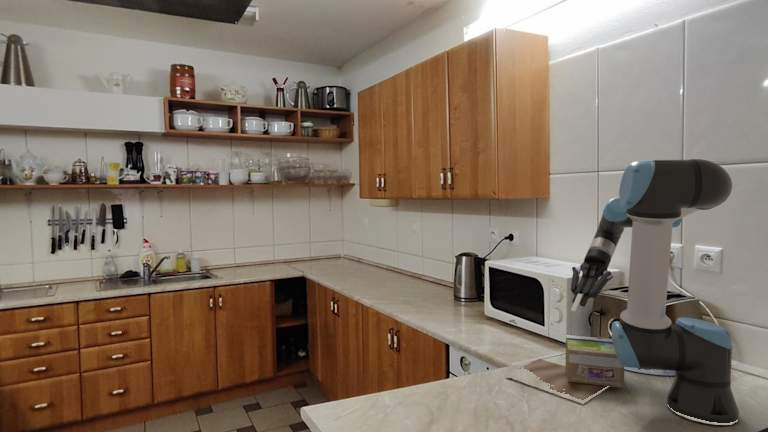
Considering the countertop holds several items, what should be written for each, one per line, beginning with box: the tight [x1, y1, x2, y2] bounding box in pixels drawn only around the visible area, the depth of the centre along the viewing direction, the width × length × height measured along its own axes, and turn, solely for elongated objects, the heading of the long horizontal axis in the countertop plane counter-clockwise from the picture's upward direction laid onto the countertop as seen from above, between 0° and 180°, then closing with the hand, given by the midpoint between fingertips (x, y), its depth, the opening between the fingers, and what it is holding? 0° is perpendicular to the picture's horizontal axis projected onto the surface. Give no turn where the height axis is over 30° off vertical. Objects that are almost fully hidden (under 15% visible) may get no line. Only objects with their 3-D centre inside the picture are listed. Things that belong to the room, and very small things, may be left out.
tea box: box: [565, 334, 625, 389], centre depth 138 cm, size 15×10×15 cm
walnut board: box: [519, 358, 607, 400], centre depth 138 cm, size 24×19×1 cm
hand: (574, 313), depth 143 cm, fingers closed
